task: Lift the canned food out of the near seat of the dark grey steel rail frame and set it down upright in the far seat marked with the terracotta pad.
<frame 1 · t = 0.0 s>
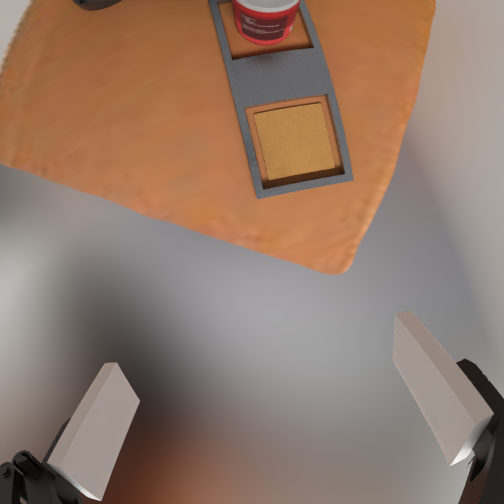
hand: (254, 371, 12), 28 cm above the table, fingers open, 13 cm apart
rail frame: (279, 77, 32), on the table
canned food: (263, 25, 30), resting in rail frame
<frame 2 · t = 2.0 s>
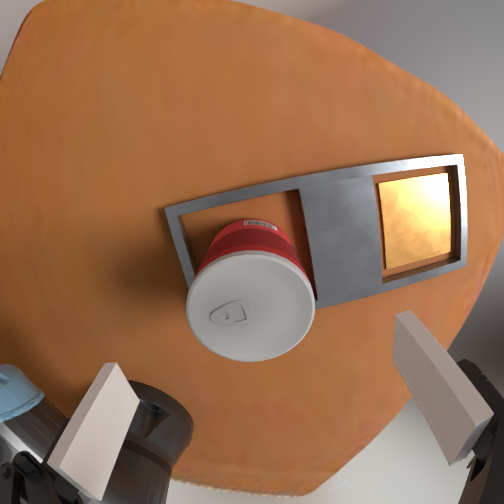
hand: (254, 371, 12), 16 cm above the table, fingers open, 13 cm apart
rail frame: (342, 236, 27), on the table
canned food: (251, 255, 27), resting in rail frame
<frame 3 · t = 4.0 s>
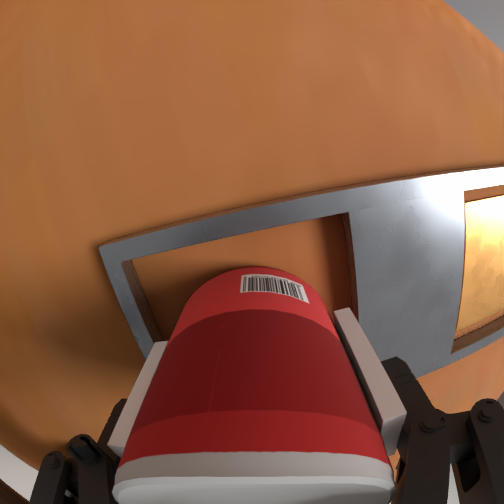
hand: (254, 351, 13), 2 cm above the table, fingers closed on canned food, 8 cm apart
rail frame: (406, 290, 15), on the table
canned food: (254, 324, 15), resting in rail frame, touching gripper
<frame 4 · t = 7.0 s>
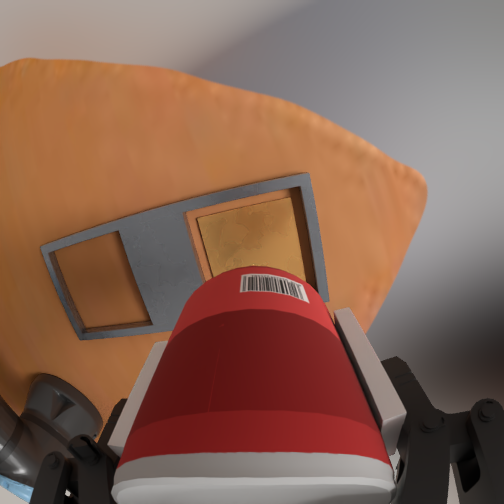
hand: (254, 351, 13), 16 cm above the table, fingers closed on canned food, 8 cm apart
rail frame: (168, 269, 29), on the table
canned food: (254, 324, 15), point 13 cm above the table, touching gripper
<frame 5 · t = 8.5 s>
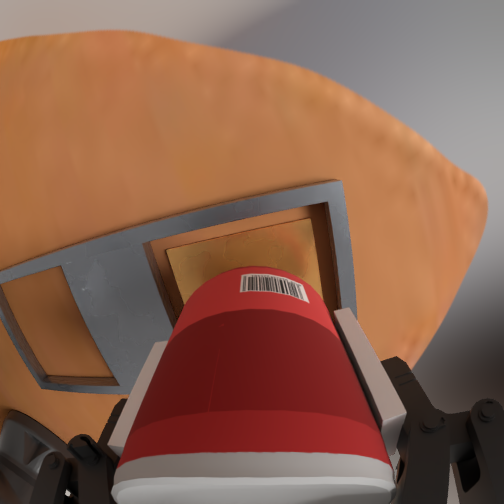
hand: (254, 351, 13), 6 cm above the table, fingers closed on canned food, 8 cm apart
rail frame: (132, 319, 19), on the table
canned food: (254, 324, 15), point 3 cm above the table, touching gripper
when the fingers open (4 cm above the table, at t = 9.8 s): canned food drops 1 cm, resting on rail frame.
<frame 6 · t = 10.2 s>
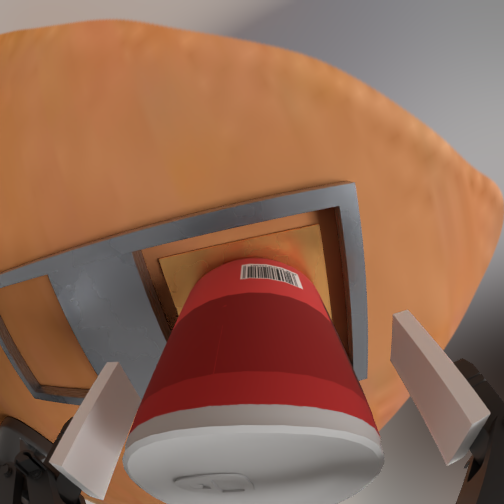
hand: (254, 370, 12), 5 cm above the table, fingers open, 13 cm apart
rail frame: (124, 332, 17), on the table
canned food: (253, 312, 17), resting on rail frame
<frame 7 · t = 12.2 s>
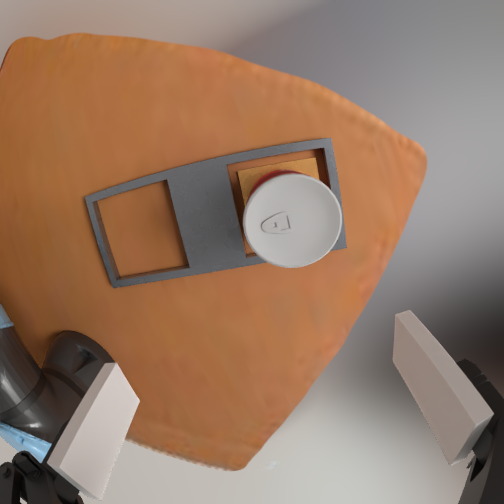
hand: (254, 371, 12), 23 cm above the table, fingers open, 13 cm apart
rail frame: (208, 216, 33), on the table
canned food: (283, 201, 32), resting on rail frame
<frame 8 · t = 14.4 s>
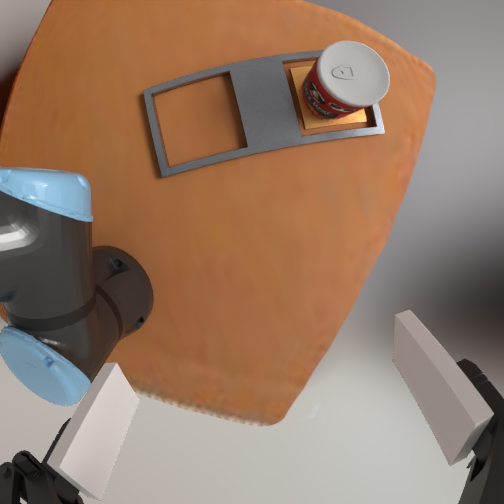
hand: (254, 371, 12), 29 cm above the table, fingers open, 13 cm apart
rail frame: (265, 103, 34), on the table
canned food: (329, 94, 33), resting on rail frame
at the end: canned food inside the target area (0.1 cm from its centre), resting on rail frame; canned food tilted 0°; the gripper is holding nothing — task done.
